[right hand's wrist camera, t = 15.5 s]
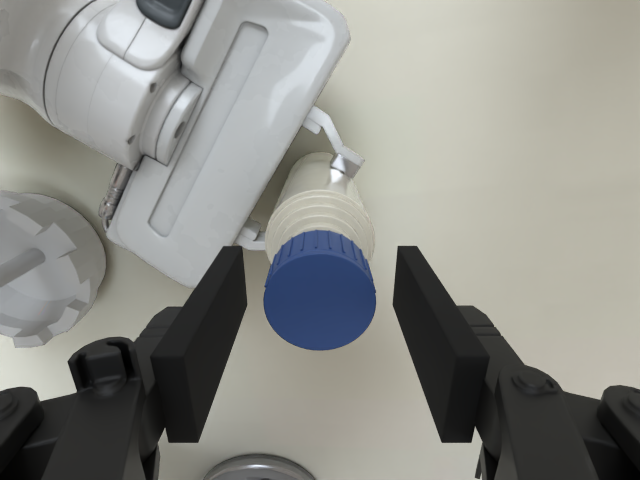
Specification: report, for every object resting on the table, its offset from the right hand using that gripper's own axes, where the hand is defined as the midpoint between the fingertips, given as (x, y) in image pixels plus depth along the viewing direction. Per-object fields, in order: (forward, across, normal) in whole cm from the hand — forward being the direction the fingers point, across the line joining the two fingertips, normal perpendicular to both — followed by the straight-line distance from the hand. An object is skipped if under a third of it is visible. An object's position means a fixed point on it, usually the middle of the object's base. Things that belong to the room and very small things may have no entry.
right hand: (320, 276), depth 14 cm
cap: (-2, 0, 0) cm, 2 cm away
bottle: (+17, 0, 0) cm, 17 cm away
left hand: (+11, -1, 0) cm, 11 cm away
